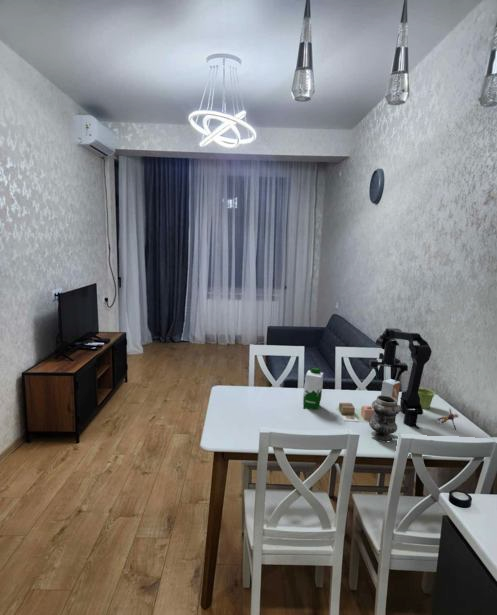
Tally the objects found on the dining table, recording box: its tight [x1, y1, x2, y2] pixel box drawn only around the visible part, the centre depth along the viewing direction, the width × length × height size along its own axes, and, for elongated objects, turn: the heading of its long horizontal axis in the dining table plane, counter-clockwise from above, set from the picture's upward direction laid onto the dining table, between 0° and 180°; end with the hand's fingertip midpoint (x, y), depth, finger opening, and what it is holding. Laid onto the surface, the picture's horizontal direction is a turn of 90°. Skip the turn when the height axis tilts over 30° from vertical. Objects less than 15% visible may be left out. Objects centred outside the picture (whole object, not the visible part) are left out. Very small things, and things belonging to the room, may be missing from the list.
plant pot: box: [418, 387, 436, 410], centre depth 224 cm, size 9×9×9 cm
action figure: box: [436, 408, 459, 431], centre depth 198 cm, size 12×3×9 cm
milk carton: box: [302, 367, 324, 410], centre depth 211 cm, size 9×9×20 cm
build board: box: [334, 407, 369, 423], centre depth 206 cm, size 16×16×1 cm
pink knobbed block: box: [360, 405, 374, 420], centre depth 203 cm, size 5×5×6 cm
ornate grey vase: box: [368, 394, 401, 443], centre depth 184 cm, size 12×12×18 cm
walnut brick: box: [338, 402, 356, 416], centre depth 207 cm, size 6×6×4 cm
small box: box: [380, 378, 401, 404], centre depth 223 cm, size 8×6×13 cm
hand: (386, 380), depth 221 cm, fingers open, 9 cm apart
